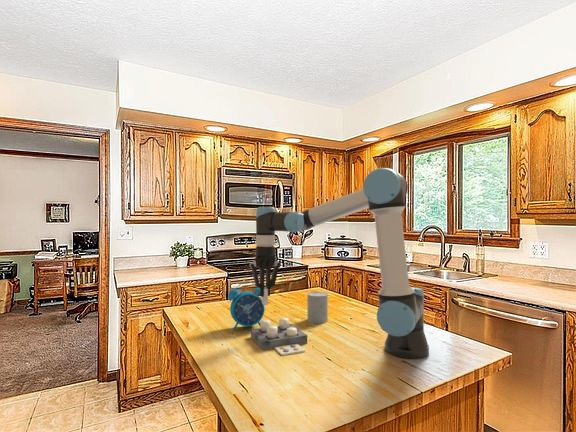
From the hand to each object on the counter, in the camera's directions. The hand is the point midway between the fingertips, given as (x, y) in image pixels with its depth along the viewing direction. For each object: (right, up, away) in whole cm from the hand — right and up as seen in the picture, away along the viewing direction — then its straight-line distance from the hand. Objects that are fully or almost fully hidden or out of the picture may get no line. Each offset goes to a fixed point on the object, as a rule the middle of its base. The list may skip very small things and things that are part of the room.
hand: (264, 304), depth 141 cm
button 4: (+11, -12, -4) cm, 17 cm away
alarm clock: (-8, -14, +13) cm, 20 cm away
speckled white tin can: (+23, -14, +23) cm, 35 cm away
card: (+10, -14, -13) cm, 21 cm away
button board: (+5, -14, -2) cm, 15 cm away
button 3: (+8, -10, +3) cm, 13 cm away
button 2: (+3, -10, -7) cm, 13 cm away
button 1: (0, -10, 0) cm, 10 cm away
